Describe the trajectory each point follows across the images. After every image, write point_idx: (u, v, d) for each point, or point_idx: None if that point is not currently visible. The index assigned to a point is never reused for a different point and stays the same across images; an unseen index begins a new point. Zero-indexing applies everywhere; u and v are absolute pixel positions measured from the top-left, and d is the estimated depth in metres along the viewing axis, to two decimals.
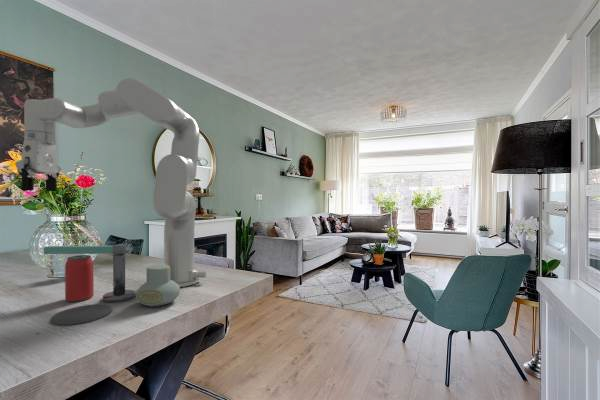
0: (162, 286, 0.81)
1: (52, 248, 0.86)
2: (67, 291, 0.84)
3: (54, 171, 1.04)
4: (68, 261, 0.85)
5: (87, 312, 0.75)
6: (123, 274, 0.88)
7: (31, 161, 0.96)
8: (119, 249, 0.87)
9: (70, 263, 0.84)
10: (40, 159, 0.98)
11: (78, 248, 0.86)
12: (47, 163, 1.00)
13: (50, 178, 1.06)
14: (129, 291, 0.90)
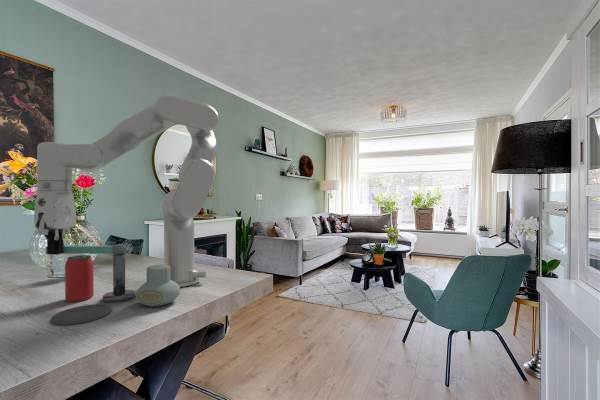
0: (162, 286, 0.81)
1: None
2: (67, 291, 0.84)
3: (72, 224, 0.87)
4: (68, 261, 0.85)
5: (87, 312, 0.75)
6: (123, 274, 0.88)
7: (46, 218, 0.80)
8: (118, 249, 0.87)
9: (70, 263, 0.84)
10: (56, 214, 0.82)
11: (79, 248, 0.87)
12: (64, 217, 0.84)
13: None
14: (129, 291, 0.90)
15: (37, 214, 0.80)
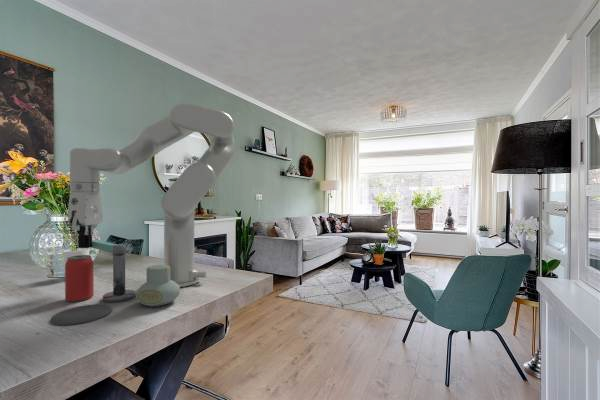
0: (162, 286, 0.81)
1: None
2: (67, 291, 0.84)
3: (99, 221, 0.98)
4: (68, 261, 0.85)
5: (87, 312, 0.75)
6: (123, 274, 0.88)
7: (78, 216, 0.90)
8: (114, 249, 0.86)
9: (70, 263, 0.84)
10: (87, 212, 0.92)
11: (99, 244, 0.93)
12: (93, 214, 0.95)
13: None
14: (129, 291, 0.90)
15: (70, 212, 0.90)
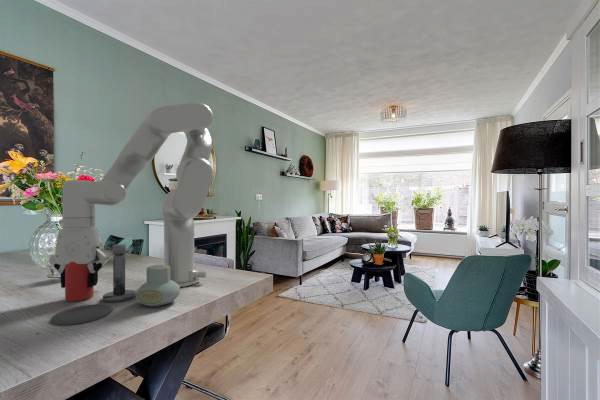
0: (162, 286, 0.81)
1: None
2: (67, 291, 0.84)
3: (82, 262, 0.85)
4: None
5: (87, 312, 0.75)
6: (123, 274, 0.88)
7: None
8: None
9: (70, 263, 0.84)
10: (60, 250, 0.84)
11: (121, 242, 0.97)
12: (70, 253, 0.84)
13: None
14: (129, 291, 0.90)
15: None
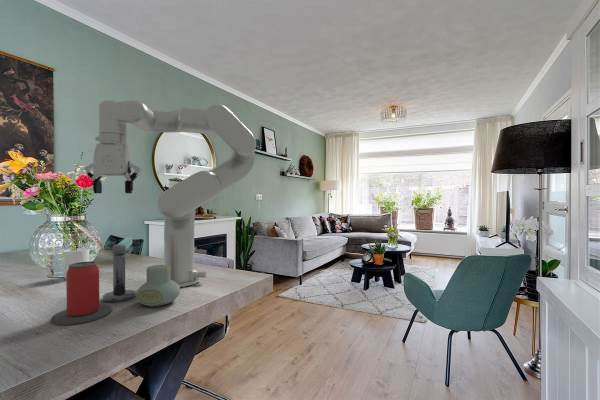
0: (162, 286, 0.81)
1: None
2: (69, 304, 0.72)
3: (116, 172, 0.97)
4: (70, 269, 0.72)
5: None
6: (123, 274, 0.88)
7: None
8: None
9: (72, 272, 0.72)
10: (97, 161, 0.96)
11: (121, 242, 0.97)
12: (106, 164, 0.97)
13: None
14: (129, 291, 0.90)
15: None
